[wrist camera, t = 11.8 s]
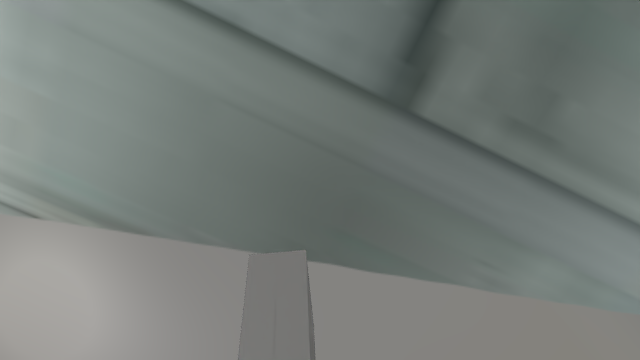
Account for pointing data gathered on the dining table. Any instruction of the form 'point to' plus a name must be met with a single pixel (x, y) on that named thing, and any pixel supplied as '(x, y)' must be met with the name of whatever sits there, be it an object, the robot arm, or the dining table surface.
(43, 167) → the dining table surface
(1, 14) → the dining table surface
